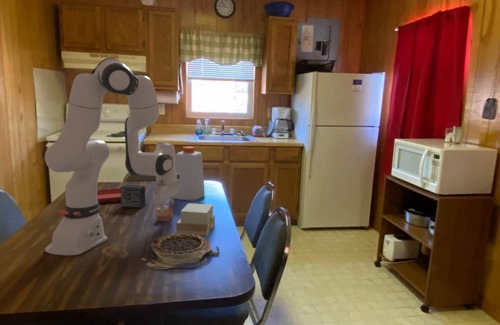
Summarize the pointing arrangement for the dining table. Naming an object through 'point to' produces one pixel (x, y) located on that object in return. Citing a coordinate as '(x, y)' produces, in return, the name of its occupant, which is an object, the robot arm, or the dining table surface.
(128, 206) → the small box
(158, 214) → the terracotta cube
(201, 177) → the plastic bottle
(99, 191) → the plant saucer
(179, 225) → the lower slab
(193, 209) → the upper slab
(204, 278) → the dining table surface
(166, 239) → the pie
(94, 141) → the robot arm
